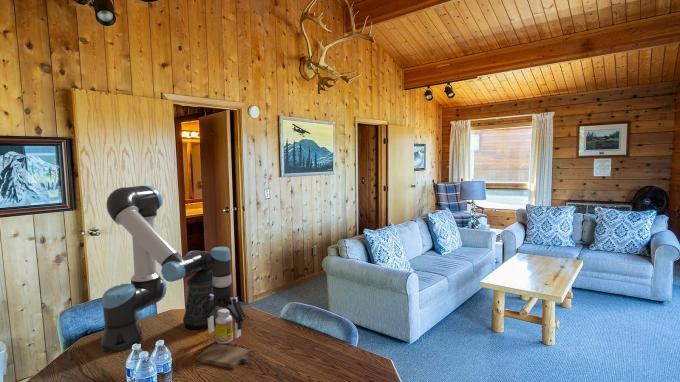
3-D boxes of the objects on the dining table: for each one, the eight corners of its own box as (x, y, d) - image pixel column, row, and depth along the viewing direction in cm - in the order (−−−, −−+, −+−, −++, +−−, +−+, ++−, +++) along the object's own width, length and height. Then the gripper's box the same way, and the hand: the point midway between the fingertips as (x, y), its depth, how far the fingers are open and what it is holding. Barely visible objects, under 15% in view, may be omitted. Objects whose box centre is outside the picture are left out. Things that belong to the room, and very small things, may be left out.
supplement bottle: (228, 345, 150) (226, 314, 149) (213, 343, 151) (211, 313, 150) (236, 337, 157) (234, 308, 155) (221, 336, 158) (220, 307, 157)
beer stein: (178, 323, 172) (174, 270, 169) (217, 311, 185) (215, 262, 183) (191, 335, 159) (188, 278, 157) (233, 321, 173) (230, 269, 170)
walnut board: (196, 360, 139) (195, 357, 139) (215, 346, 149) (215, 343, 149) (239, 369, 132) (239, 365, 132) (256, 354, 142) (256, 350, 142)
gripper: (191, 284, 153) (194, 333, 155) (242, 290, 144) (244, 342, 146) (203, 279, 160) (206, 326, 162) (253, 284, 151) (255, 334, 153)
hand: (224, 334), depth 154 cm, fingers open, 13 cm apart
